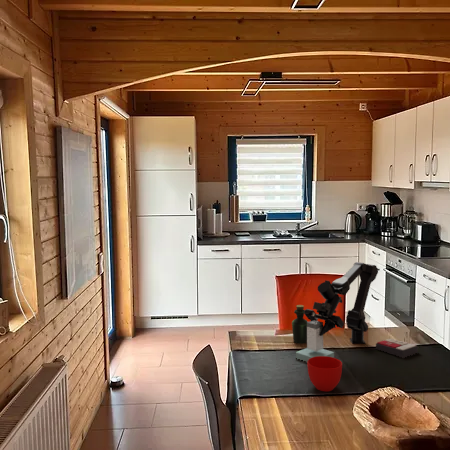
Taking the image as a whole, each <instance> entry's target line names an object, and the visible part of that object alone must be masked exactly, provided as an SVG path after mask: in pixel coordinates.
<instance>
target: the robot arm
mask: <svg viewBox="0 0 450 450" xmlns="http://www.w3.org/2000/svg"><path fill="white" fill-rule="evenodd" d="M378 274H379V268H378V267H377V265H375V264H369V263H364V262H359V261H357V262H354V263H353V265H352V266H351V268H350V269H348V271H347V272H346V273H345V274H344V275H342V277H339V278H336V279H335V280H333V281H332V282H331V281H330V280H325V281H324V282H320V284H318V286H317V291H318V293H319V294H320V295H321V296H322V298H323V299H324V300H325V301H324V302H318V301H314V302H313V306H312V309H310V308H305V309H304V310H305V312H304V316H305V317H306V318H307V319H308V320H309V321H313V320H316V321H319V320H322V321H324V323H323V328H322V330H321V332H320V336H322V335H323V336H324V335H325V334H327V332H329V331H332V329H336V328H339V329H343V328H344V325H345V322H344V320H343V318H341V316H339V315H335V314H336V313H337V310H336V309H337V308H338V305H339V304H342V303H343V299H342V296H345V295H347V294H348V292H349V290H350V289H351V287H350V286H351V285H352V283H353V282H354V281H355V280H357V278H358V276H359V279H360V282H359V285H358V290H357V294H356V297H355V301H354V306H353V308H352V309H349V310H348V311H347V315H346V317H345V318H346V319H345V321H346V327H347V329H349V330H351V337H350V338H349V341H350V343H351V344H356V345H357V344H358V345H359V344H361V345H362V344H366V341H365V340H364V339H365V338H364V334H365V333H364V332H367V331H368V330H369V324H368V323H367V322H366V314H365V311H364V310H365V307H366V303H367V299H368V296H369V292H370V291H369V290H370V288H371V284H372V283H373V282H374V281H375V280H376V278H377V276H378ZM340 295H341V296H340ZM315 310H316V311H315Z"/></svg>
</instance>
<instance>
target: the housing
mask: <svg viewBox="0 0 450 450" xmlns="http://www.w3.org/2000/svg"><path fill="white" fill-rule="evenodd" d="M323 326H324V321H319V320H317V321H316V320H313V321H311V320H309V321H308V322H307V342H306V348H307V349H310V350H313V351H319V350H321V349H324V334H323V335H322V336H320V332H321V330H322V328H323Z"/></svg>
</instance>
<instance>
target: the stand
mask: <svg viewBox="0 0 450 450" xmlns="http://www.w3.org/2000/svg"><path fill="white" fill-rule="evenodd" d="M317 356H327V357H333V358H335V351H331V350H327V349H324V348H323V349H321V350H319V351H313V350H310V349H307V347H306V348H303V349H301V350H299V351H296V352H295V359H296V358H297V359H296V360H298V359H300V360H299V361H301V360H303V361H302V362H304V361H306V362H305V363H307V362H308V360H309V359H310V358H312V357H317Z"/></svg>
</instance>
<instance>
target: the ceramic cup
mask: <svg viewBox="0 0 450 450" xmlns="http://www.w3.org/2000/svg"><path fill="white" fill-rule="evenodd" d="M306 363H307V364H306V365H307V373H308V377H309V380H310V382H311V384H312V385H313V386H314V387H315V389H316V390H318V391H320V392H331V391H333V390H334V389H335V388H336V387H337V386H338V385H339V383H340V381H341V377H342V372H343V362H342V361H341V360H340V359H337V358H336V357H334V358H333V357H327V356H317V357H312V358H310V359H309V360H308V362H306Z"/></svg>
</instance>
